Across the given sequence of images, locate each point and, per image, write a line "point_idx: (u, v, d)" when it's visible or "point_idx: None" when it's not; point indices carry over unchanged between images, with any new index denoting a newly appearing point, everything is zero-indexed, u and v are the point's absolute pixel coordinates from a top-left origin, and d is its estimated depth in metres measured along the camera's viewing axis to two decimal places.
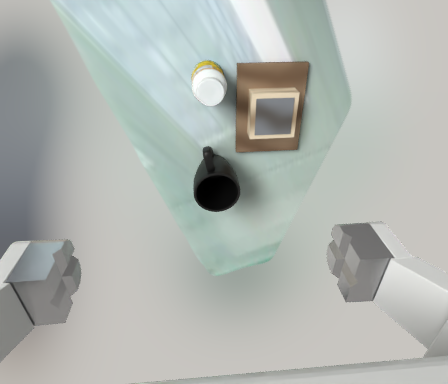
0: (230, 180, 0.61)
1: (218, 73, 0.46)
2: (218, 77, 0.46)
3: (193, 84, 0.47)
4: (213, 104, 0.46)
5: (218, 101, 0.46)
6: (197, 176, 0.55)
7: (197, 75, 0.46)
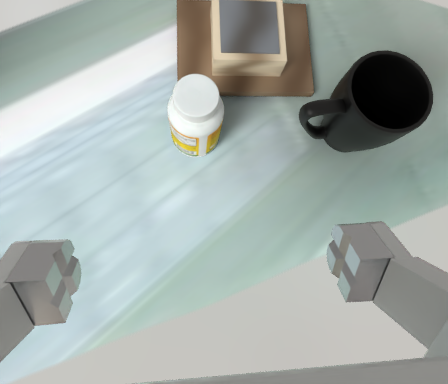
0: (365, 91, 0.35)
1: (173, 94, 0.29)
2: None
3: (189, 132, 0.29)
4: (216, 91, 0.27)
5: (210, 82, 0.27)
6: (357, 133, 0.30)
7: (175, 126, 0.29)
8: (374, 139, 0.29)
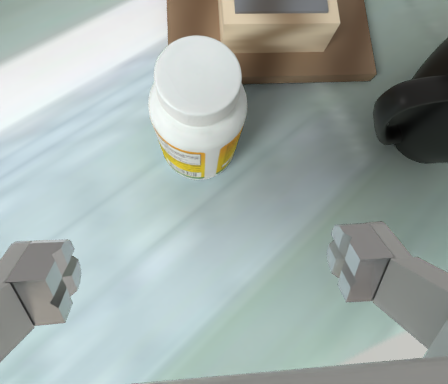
0: None
1: None
2: None
3: (188, 144, 0.16)
4: (235, 65, 0.14)
5: (224, 51, 0.14)
6: None
7: (163, 133, 0.16)
8: None
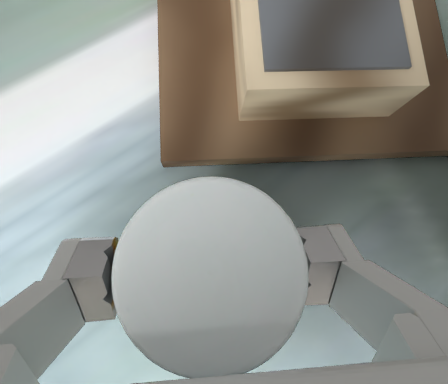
0: None
1: None
2: None
3: None
4: (293, 248, 0.06)
5: (270, 213, 0.07)
6: None
7: None
8: None
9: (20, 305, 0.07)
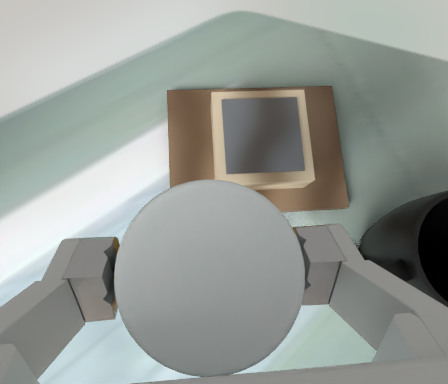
0: None
1: None
2: None
3: None
4: (290, 249, 0.07)
5: (268, 215, 0.07)
6: None
7: None
8: None
9: (20, 305, 0.07)
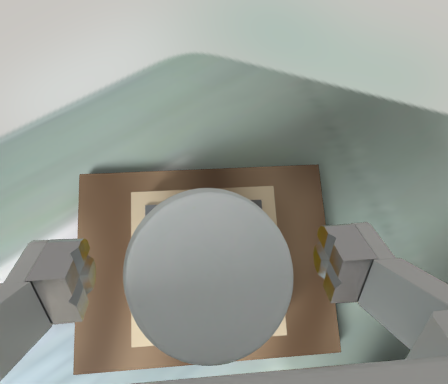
0: None
1: (138, 229, 0.10)
2: None
3: None
4: (280, 254, 0.08)
5: (261, 224, 0.08)
6: None
7: None
8: None
9: None
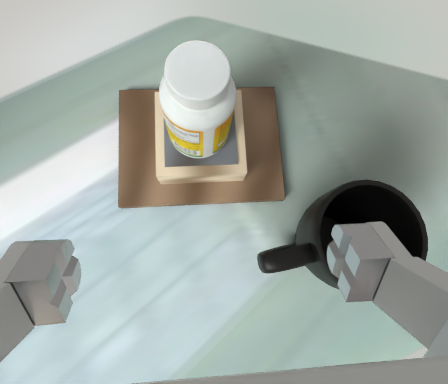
0: (345, 205, 0.28)
1: None
2: None
3: (190, 123, 0.21)
4: (225, 63, 0.19)
5: (217, 52, 0.19)
6: (332, 284, 0.23)
7: (170, 115, 0.21)
8: None
9: None
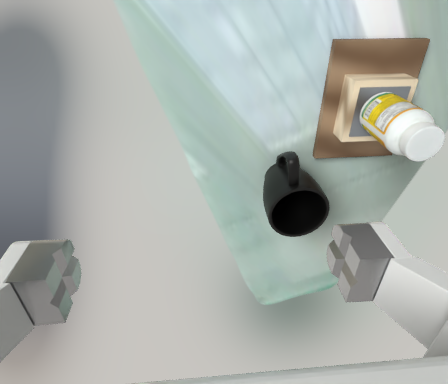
0: (306, 194, 0.47)
1: (430, 115, 0.33)
2: (430, 121, 0.33)
3: (392, 130, 0.34)
4: (422, 159, 0.33)
5: (431, 155, 0.33)
6: (272, 191, 0.42)
7: (401, 118, 0.33)
8: (267, 201, 0.42)
9: None
